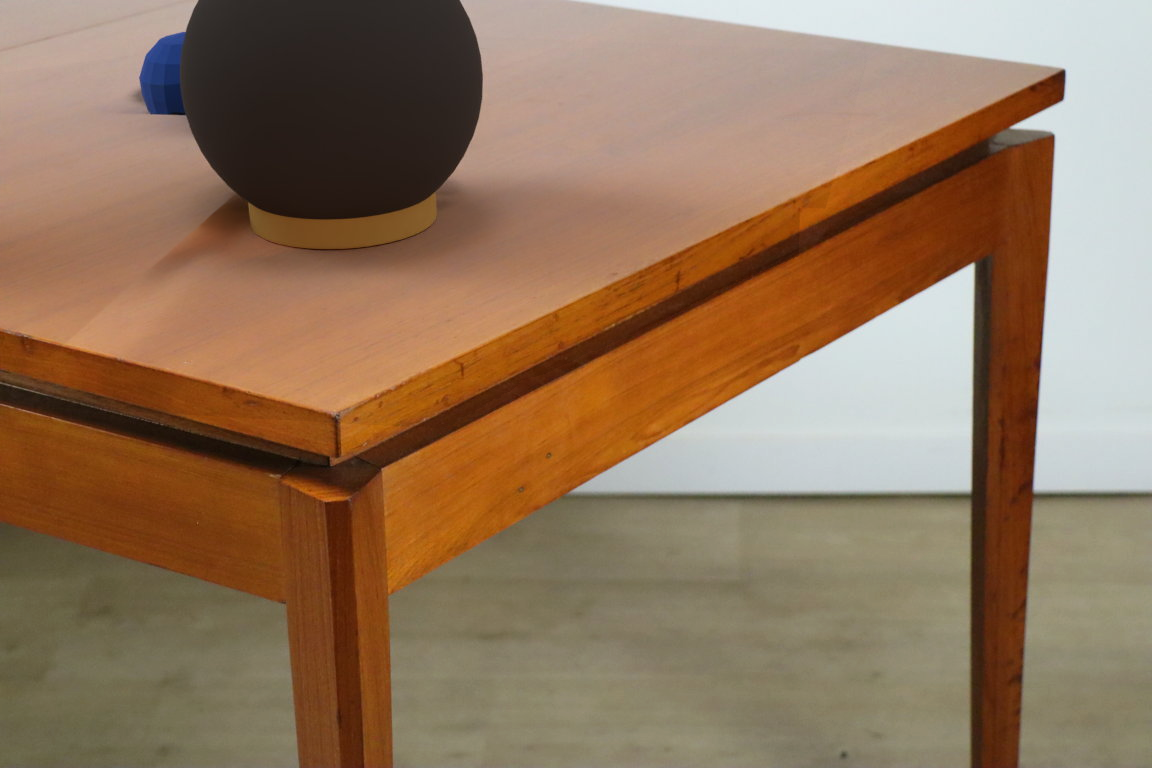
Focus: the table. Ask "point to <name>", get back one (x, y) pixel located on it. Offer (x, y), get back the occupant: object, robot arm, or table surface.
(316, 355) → the table surface
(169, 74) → the toy
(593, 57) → the table surface
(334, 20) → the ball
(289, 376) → the table surface
